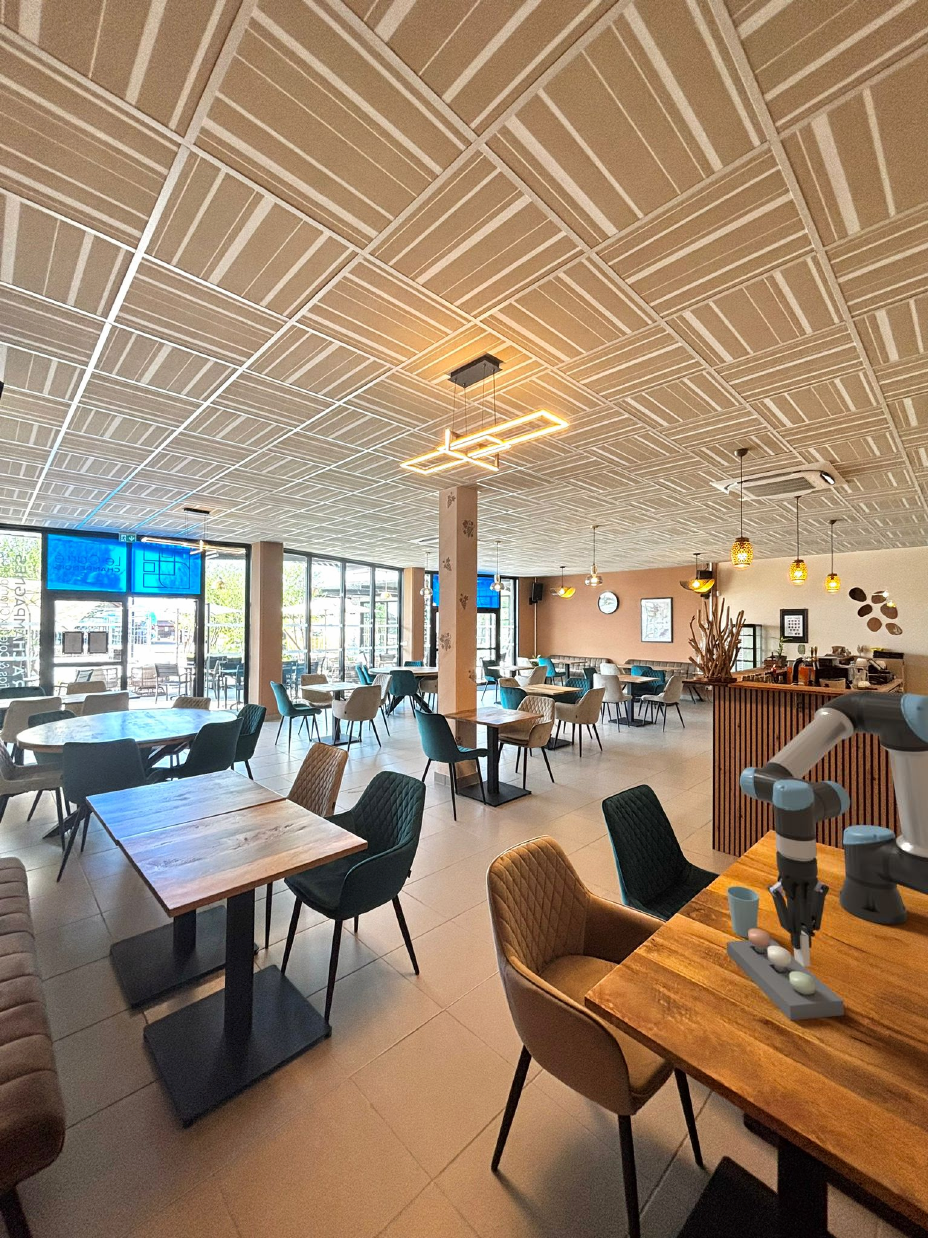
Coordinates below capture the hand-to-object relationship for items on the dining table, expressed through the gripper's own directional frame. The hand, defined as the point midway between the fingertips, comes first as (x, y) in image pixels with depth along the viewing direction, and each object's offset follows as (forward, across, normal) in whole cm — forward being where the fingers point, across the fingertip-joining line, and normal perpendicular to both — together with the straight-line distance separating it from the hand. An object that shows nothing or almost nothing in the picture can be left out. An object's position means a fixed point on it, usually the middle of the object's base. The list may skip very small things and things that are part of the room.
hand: (802, 962), depth 111 cm
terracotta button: (+6, 0, -14) cm, 15 cm away
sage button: (+7, 0, 0) cm, 7 cm away
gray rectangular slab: (+9, 0, -7) cm, 11 cm away
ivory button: (+6, 0, -7) cm, 9 cm away
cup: (+9, -4, -26) cm, 28 cm away
